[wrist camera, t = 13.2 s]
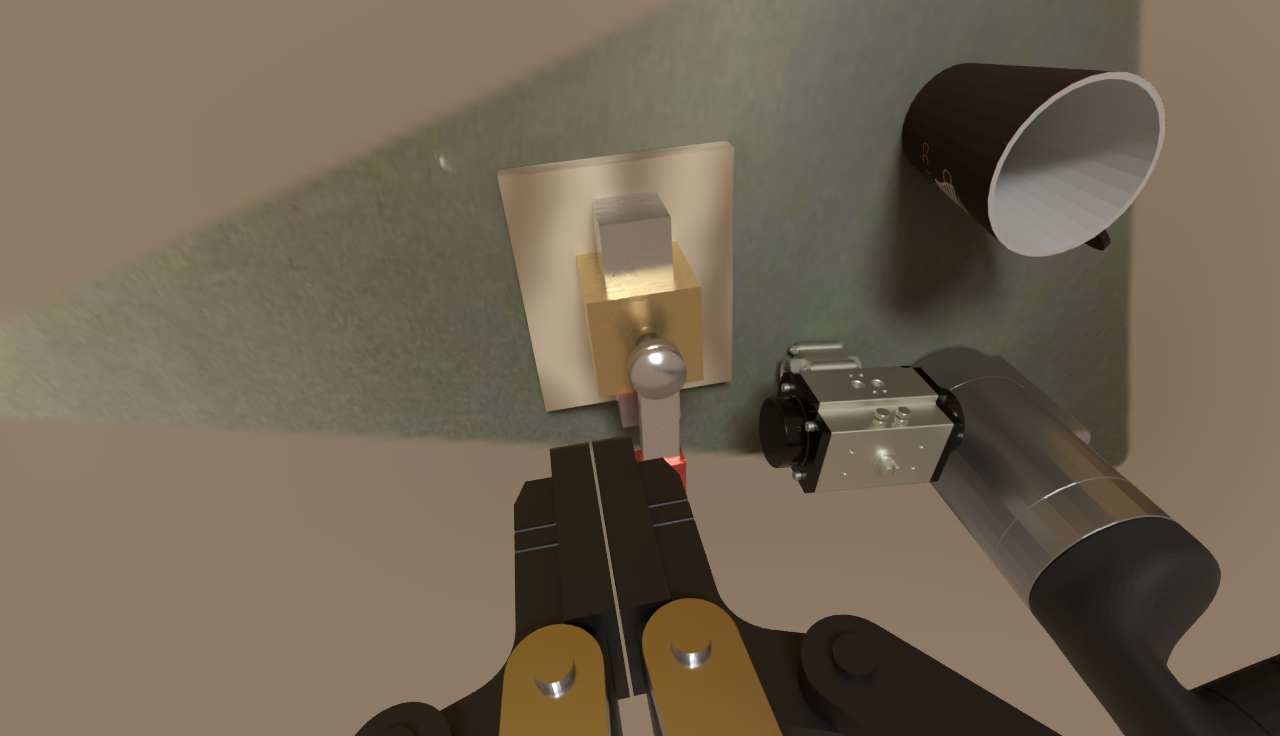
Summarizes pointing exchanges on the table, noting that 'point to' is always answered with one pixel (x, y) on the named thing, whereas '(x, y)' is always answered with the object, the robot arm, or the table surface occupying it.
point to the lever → (659, 400)
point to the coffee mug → (1037, 149)
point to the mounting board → (563, 227)
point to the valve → (637, 294)
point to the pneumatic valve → (857, 422)
